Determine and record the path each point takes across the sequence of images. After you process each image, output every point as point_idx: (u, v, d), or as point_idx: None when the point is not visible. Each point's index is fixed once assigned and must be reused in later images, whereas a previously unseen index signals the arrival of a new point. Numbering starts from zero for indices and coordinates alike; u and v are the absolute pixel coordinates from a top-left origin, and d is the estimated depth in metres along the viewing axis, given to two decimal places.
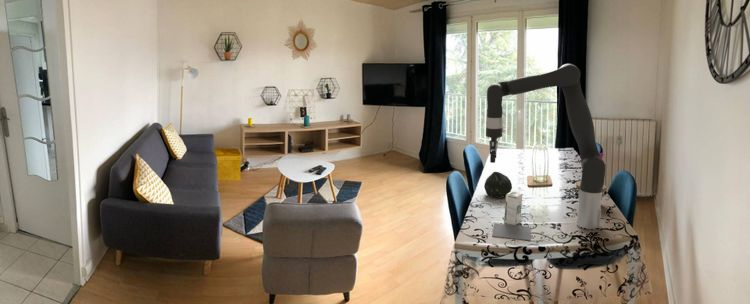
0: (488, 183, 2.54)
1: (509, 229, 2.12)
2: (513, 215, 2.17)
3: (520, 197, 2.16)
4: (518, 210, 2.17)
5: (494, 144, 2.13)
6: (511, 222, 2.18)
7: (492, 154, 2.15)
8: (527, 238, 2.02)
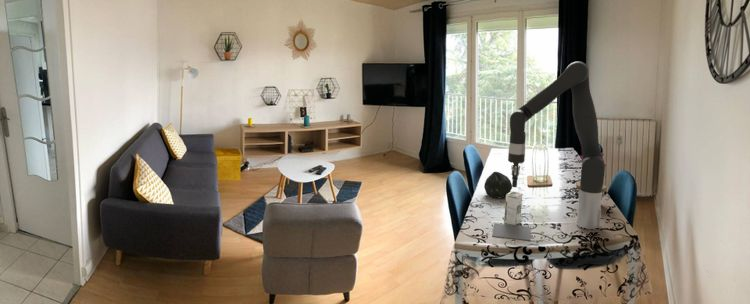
0: (488, 183, 2.54)
1: (509, 229, 2.12)
2: (513, 215, 2.17)
3: (520, 197, 2.16)
4: (518, 210, 2.17)
5: (516, 174, 2.19)
6: (511, 222, 2.18)
7: (514, 179, 2.23)
8: (527, 238, 2.02)
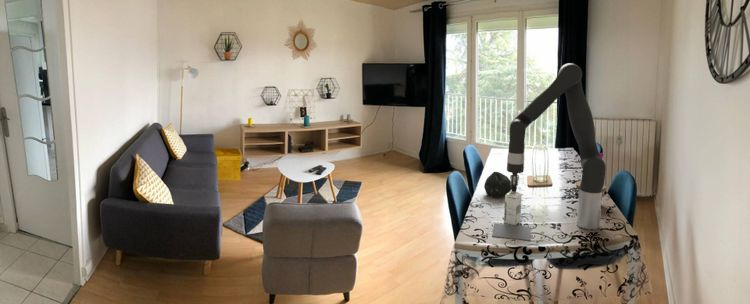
0: (488, 183, 2.54)
1: (509, 229, 2.12)
2: (512, 215, 2.16)
3: (519, 197, 2.15)
4: (518, 210, 2.17)
5: (515, 184, 2.15)
6: (511, 222, 2.18)
7: (513, 189, 2.19)
8: (527, 238, 2.02)
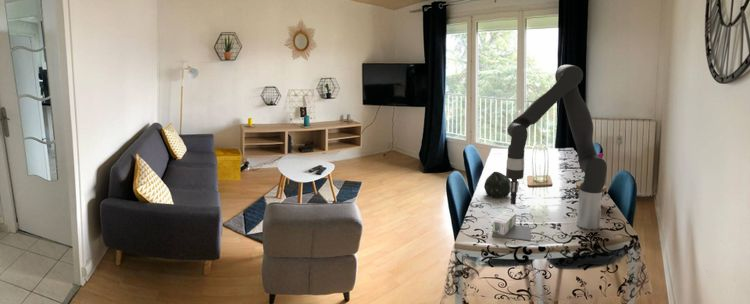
0: (488, 183, 2.54)
1: None
2: None
3: (505, 227, 2.06)
4: (510, 224, 2.11)
5: (515, 191, 2.06)
6: None
7: (513, 196, 2.10)
8: (527, 238, 2.02)
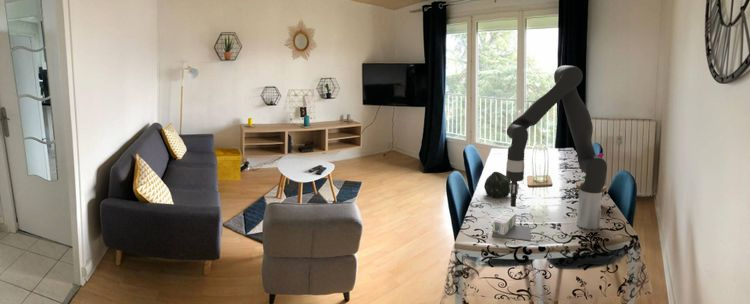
0: (488, 183, 2.54)
1: None
2: None
3: (506, 227, 2.06)
4: (510, 224, 2.11)
5: (515, 193, 2.03)
6: None
7: (513, 198, 2.07)
8: (527, 238, 2.02)
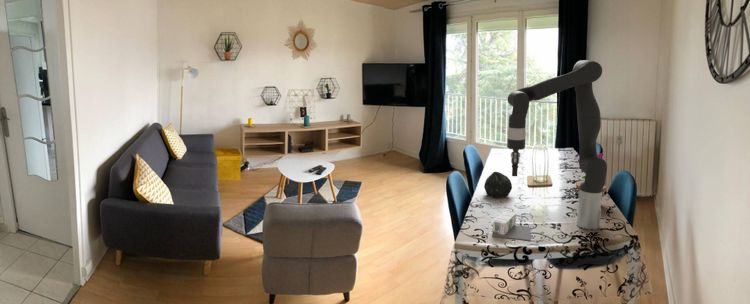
0: (488, 183, 2.54)
1: None
2: None
3: (506, 227, 2.06)
4: (510, 224, 2.11)
5: (516, 161, 2.00)
6: None
7: (514, 167, 2.04)
8: (527, 238, 2.02)
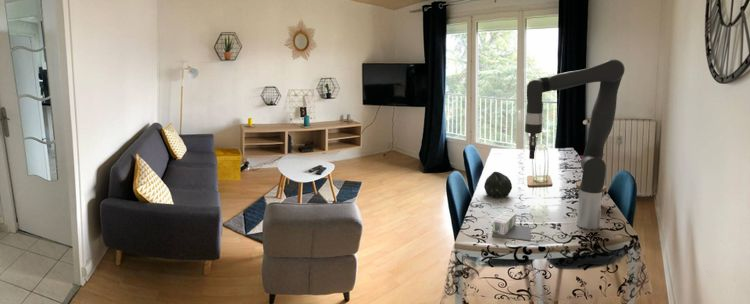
0: (488, 183, 2.54)
1: None
2: None
3: (506, 227, 2.06)
4: (510, 224, 2.11)
5: (534, 144, 2.15)
6: None
7: (532, 150, 2.19)
8: (527, 238, 2.02)
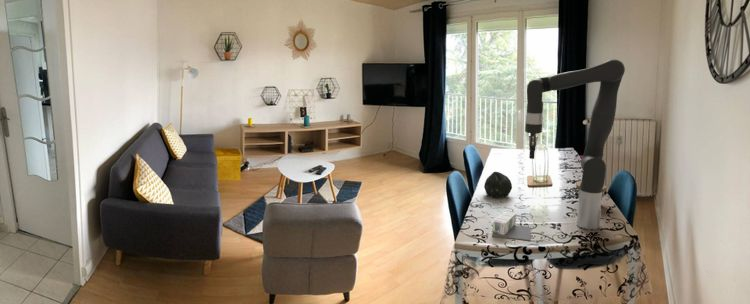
0: (488, 183, 2.54)
1: None
2: None
3: (506, 227, 2.06)
4: (510, 224, 2.11)
5: (534, 144, 2.15)
6: None
7: (532, 150, 2.19)
8: (527, 238, 2.02)
